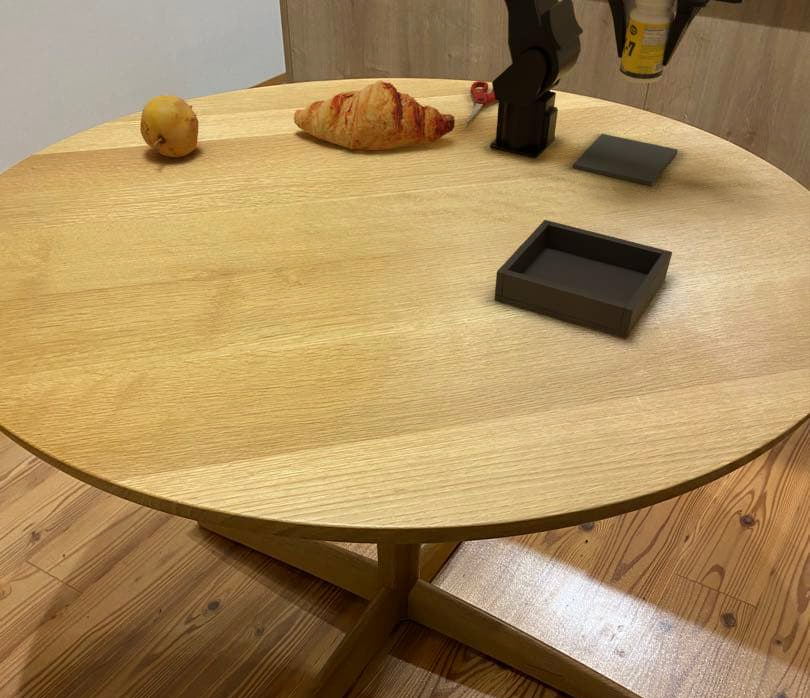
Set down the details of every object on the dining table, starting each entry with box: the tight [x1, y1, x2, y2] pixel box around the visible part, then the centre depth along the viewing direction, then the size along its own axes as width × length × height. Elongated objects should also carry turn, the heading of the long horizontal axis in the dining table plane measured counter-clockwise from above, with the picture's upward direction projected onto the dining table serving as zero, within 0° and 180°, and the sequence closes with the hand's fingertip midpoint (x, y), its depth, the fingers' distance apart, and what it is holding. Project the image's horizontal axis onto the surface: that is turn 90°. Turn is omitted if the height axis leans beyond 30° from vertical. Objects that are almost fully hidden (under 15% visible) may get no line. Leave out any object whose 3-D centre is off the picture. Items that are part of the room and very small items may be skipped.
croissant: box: [293, 80, 456, 151], centre depth 101 cm, size 21×10×8 cm, turn 81°
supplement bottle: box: [618, 0, 676, 84], centre depth 86 cm, size 5×5×8 cm
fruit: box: [139, 94, 199, 158], centre depth 98 cm, size 7×7×10 cm
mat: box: [572, 133, 679, 186], centre depth 98 cm, size 10×10×1 cm
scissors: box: [465, 80, 497, 125], centre depth 109 cm, size 5×14×1 cm, turn 161°
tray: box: [494, 219, 673, 340], centre depth 78 cm, size 14×12×3 cm
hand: (642, 60), depth 88 cm, fingers closed on supplement bottle, 5 cm apart
